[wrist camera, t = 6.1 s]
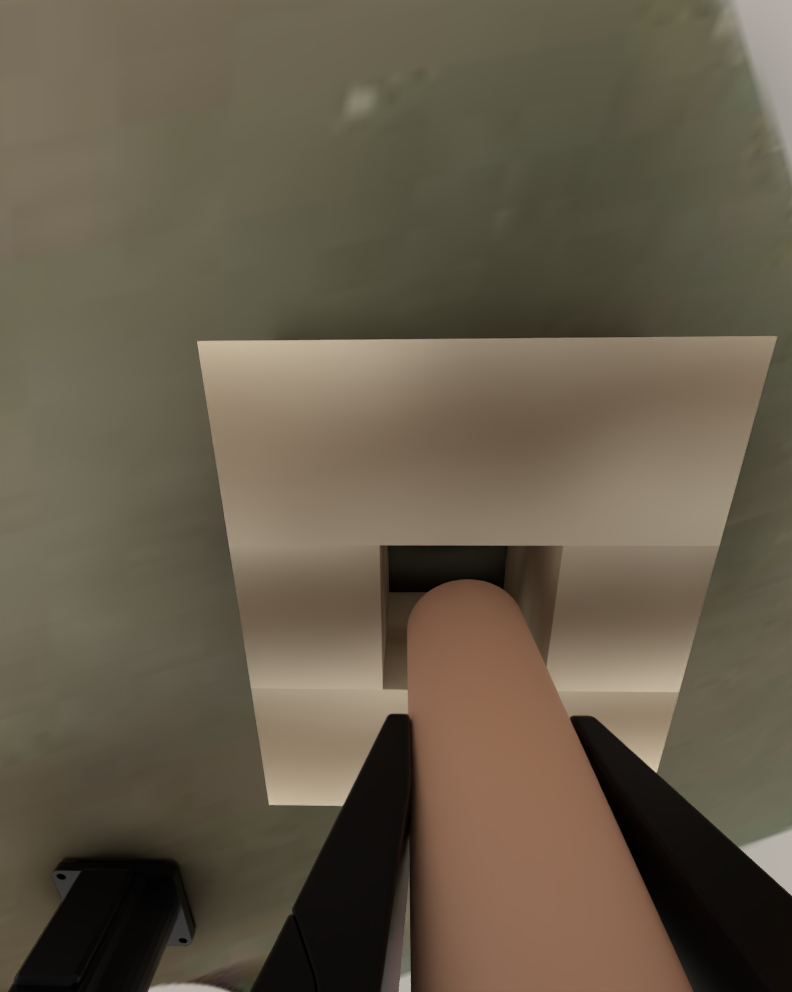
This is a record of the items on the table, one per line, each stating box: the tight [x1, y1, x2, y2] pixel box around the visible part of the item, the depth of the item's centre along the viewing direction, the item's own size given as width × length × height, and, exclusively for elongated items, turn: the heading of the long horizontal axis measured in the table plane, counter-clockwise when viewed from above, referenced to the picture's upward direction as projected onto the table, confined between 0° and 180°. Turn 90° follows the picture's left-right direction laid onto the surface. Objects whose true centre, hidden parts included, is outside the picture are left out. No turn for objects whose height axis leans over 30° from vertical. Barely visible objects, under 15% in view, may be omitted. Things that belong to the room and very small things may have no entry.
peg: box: [407, 579, 694, 992], centre depth 6 cm, size 3×3×10 cm
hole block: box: [197, 336, 777, 806], centre depth 13 cm, size 14×12×5 cm
